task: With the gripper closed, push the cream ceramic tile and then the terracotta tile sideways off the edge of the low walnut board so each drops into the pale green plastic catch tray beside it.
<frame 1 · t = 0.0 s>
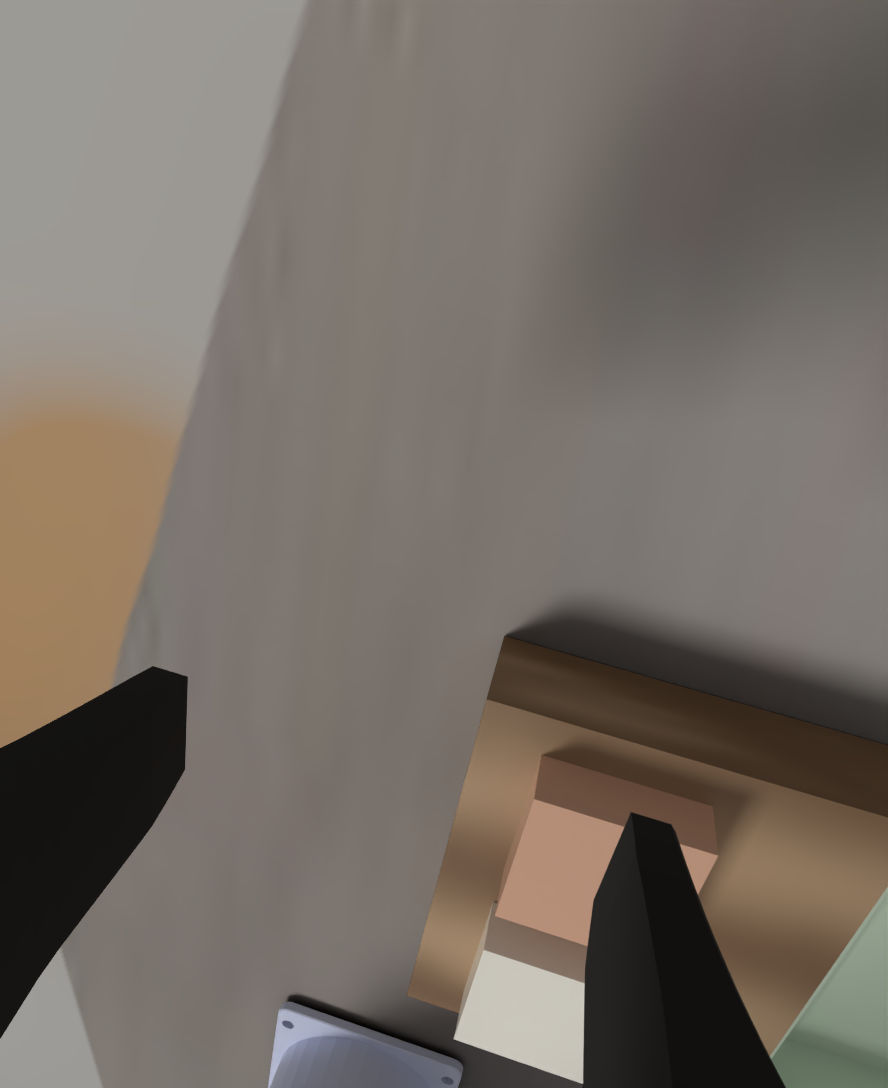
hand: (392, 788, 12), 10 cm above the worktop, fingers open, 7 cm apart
walnut board: (625, 845, 25), on the worktop
cream tile: (548, 971, 24), point 3 cm above the worktop, touching walnut board
terracotta tile: (601, 839, 21), point 3 cm above the worktop, touching walnut board
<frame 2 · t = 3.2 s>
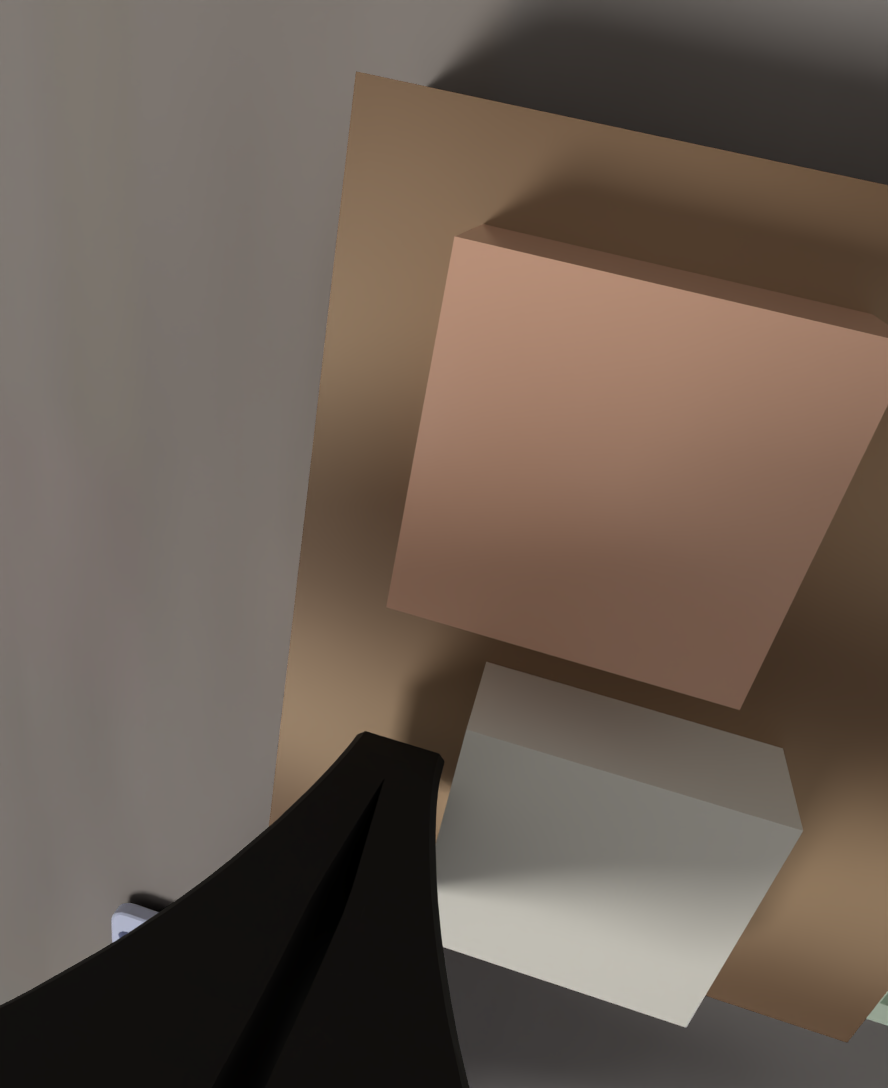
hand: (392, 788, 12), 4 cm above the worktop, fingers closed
walnut board: (653, 568, 14), on the worktop
cream tile: (590, 808, 13), point 3 cm above the worktop, touching walnut board
terracotta tile: (614, 448, 10), point 3 cm above the worktop, touching walnut board
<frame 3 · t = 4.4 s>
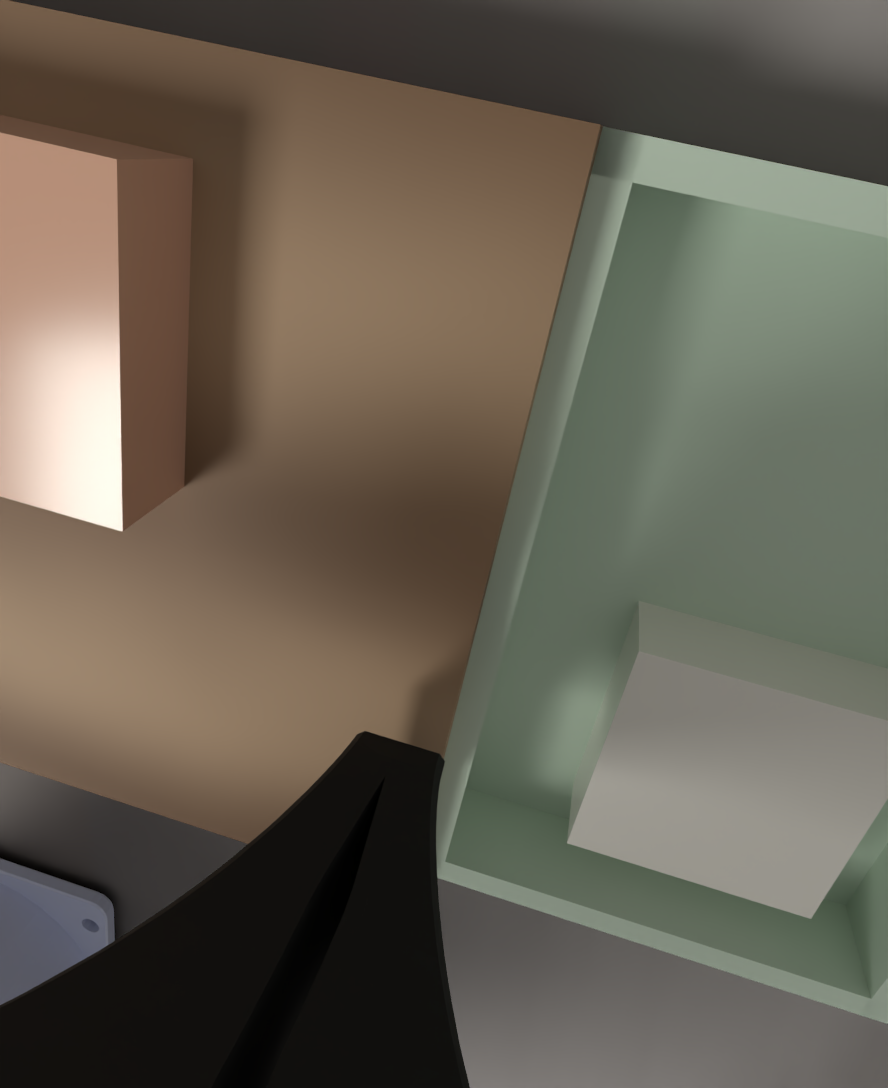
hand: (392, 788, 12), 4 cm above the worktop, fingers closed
walnut board: (227, 453, 15), on the worktop
cream tile: (730, 793, 13), point 2 cm above the worktop, tilted 180°, touching catch tray
terracotta tile: (39, 301, 11), point 3 cm above the worktop, touching walnut board
catch tray: (755, 596, 14), on the worktop
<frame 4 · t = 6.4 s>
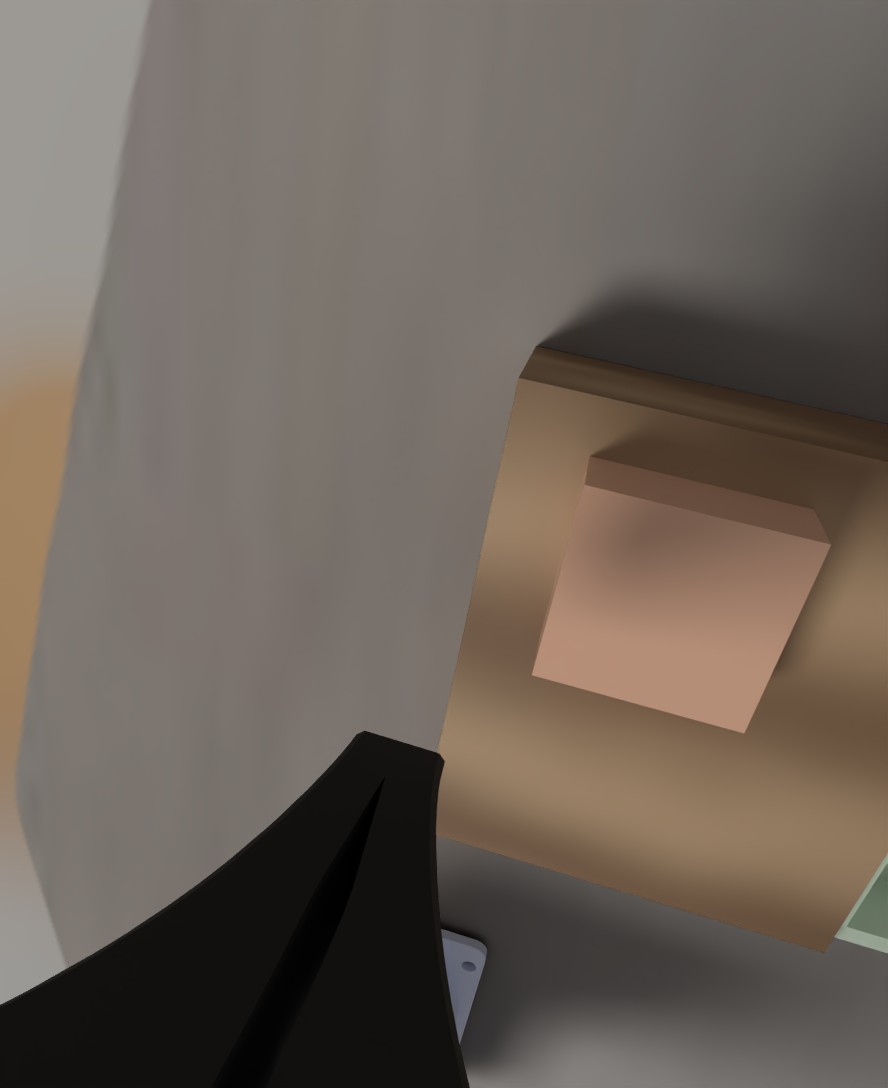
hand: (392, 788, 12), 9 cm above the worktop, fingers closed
walnut board: (685, 634, 21), on the worktop
terracotta tile: (666, 577, 17), point 3 cm above the worktop, touching walnut board
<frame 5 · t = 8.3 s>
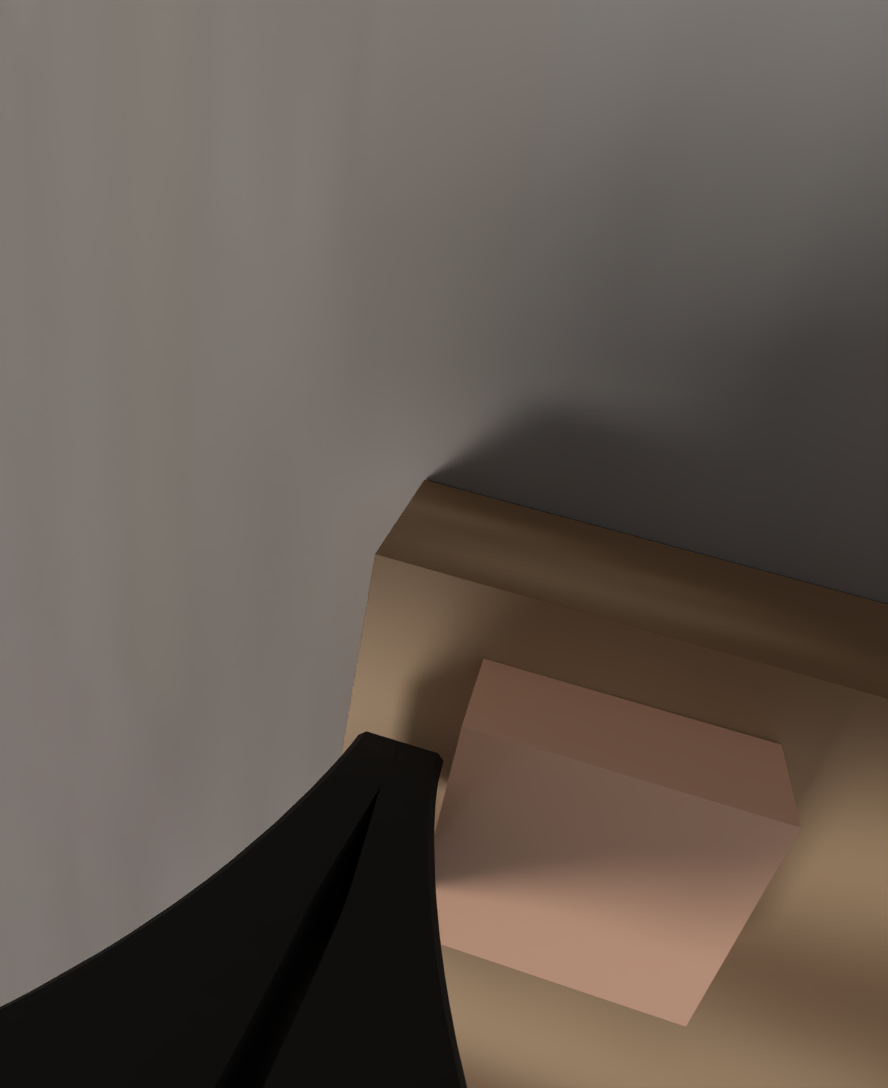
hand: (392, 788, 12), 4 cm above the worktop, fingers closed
walnut board: (618, 820, 17), on the worktop
terracotta tile: (588, 806, 13), point 3 cm above the worktop, touching gripper, walnut board
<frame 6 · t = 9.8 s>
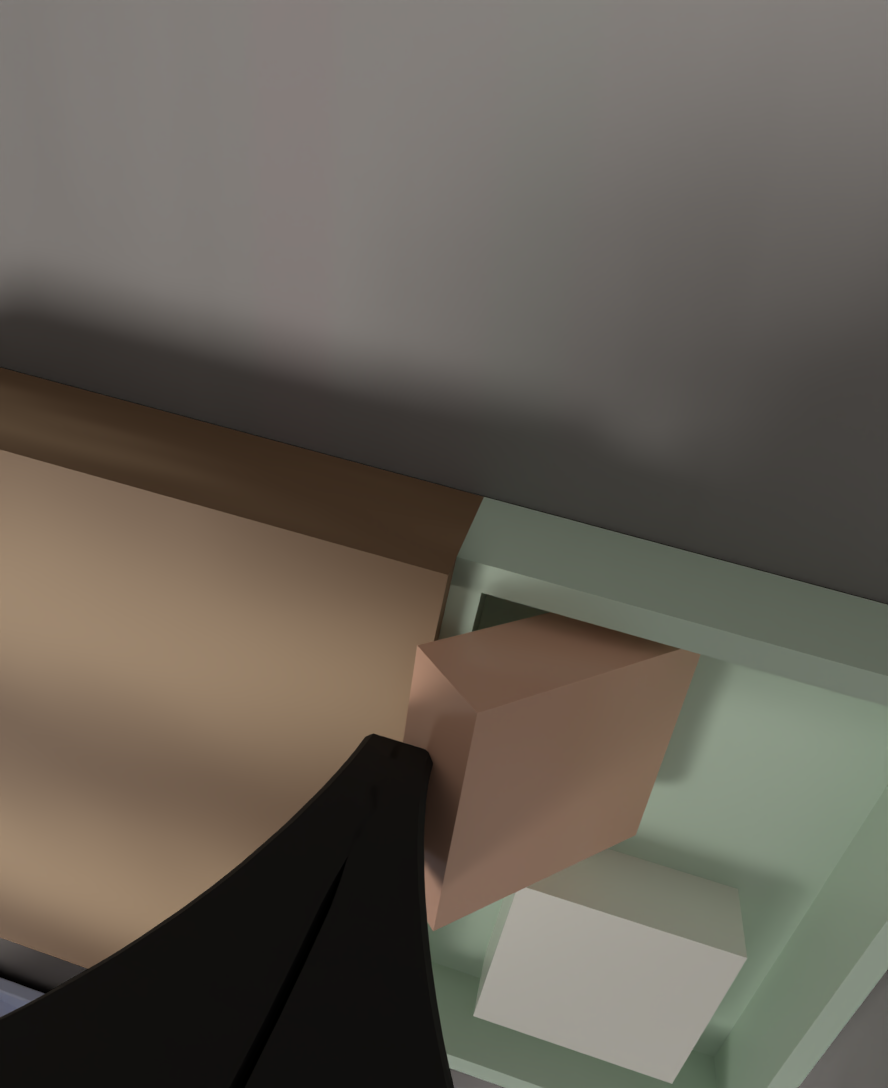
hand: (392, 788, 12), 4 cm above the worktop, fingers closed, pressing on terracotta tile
walnut board: (191, 688, 18), on the worktop
cream tile: (599, 989, 16), point 2 cm above the worktop, tilted 180°, touching catch tray
terracotta tile: (512, 722, 14), point 2 cm above the worktop, tilted 44°, touching catch tray, gripper
catch tray: (623, 821, 17), on the worktop
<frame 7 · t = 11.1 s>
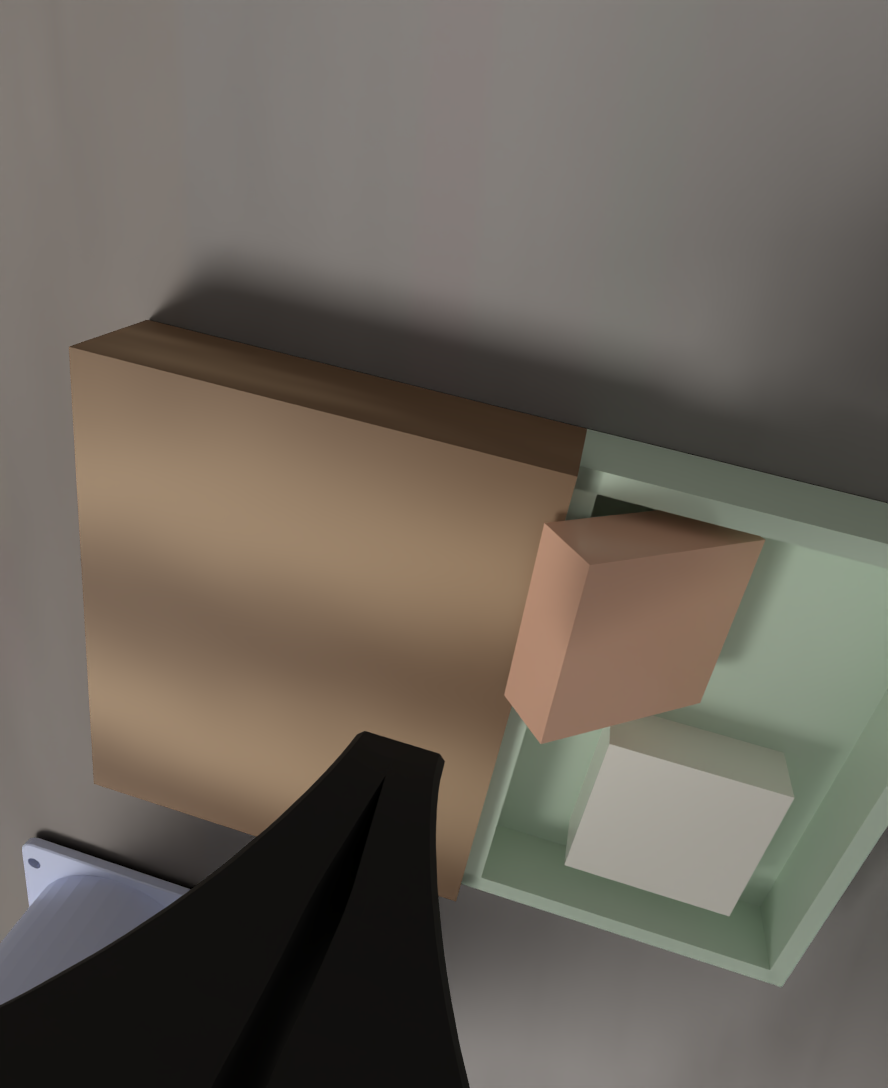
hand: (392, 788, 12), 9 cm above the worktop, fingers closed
walnut board: (330, 598, 22), on the worktop
cream tile: (671, 833, 20), point 2 cm above the worktop, tilted 180°, touching catch tray
terracotta tile: (607, 600, 18), point 2 cm above the worktop, tilted 39°, touching catch tray, walnut board
catch tray: (689, 700, 20), on the worktop
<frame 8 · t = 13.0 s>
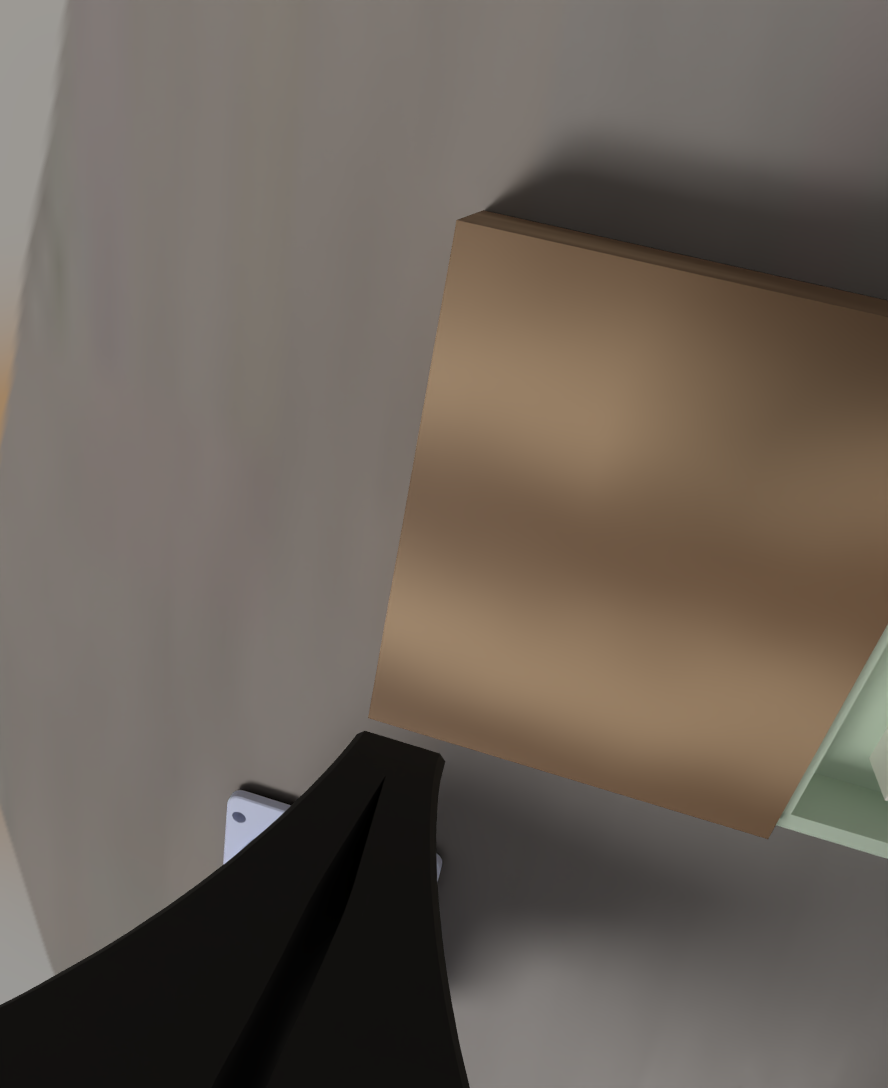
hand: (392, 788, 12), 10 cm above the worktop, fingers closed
walnut board: (634, 519, 20), on the worktop
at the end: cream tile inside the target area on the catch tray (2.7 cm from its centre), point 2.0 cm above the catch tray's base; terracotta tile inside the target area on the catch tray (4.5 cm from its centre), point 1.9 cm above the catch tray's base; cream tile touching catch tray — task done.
